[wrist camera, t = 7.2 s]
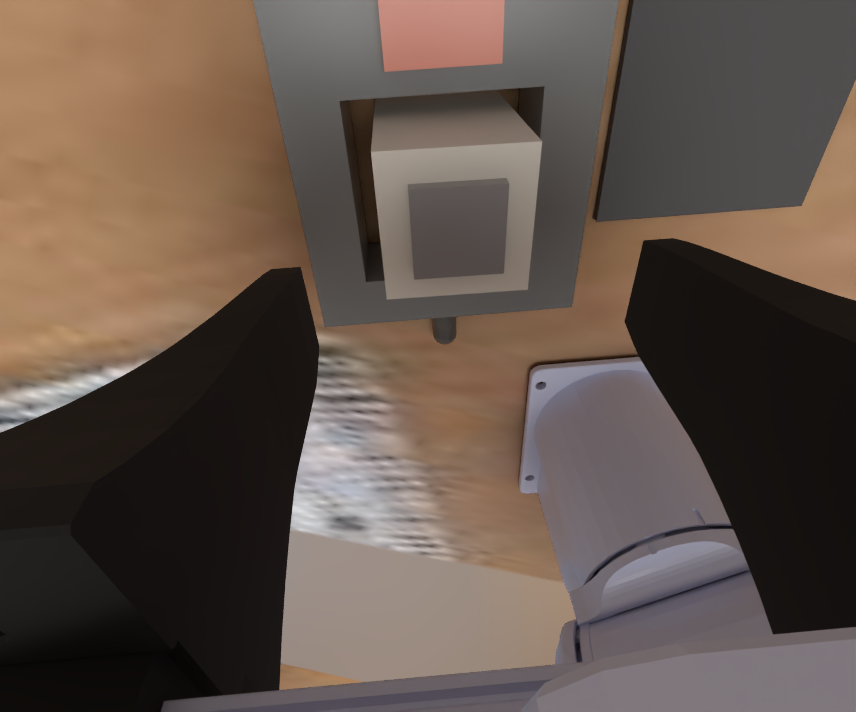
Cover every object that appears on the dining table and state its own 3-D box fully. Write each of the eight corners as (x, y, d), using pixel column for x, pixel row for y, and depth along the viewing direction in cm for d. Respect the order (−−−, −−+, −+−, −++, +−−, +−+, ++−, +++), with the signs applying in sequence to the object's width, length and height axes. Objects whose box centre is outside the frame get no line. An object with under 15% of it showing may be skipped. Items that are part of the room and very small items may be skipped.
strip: (543, 327, 22) (586, 424, 18) (343, 343, 22) (332, 445, 17) (648, -593, 9) (920, -1168, 5) (163, -572, 9) (-75, -1147, 4)
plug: (492, 208, 19) (530, 297, 14) (386, 215, 19) (386, 307, 14) (497, 90, 16) (546, 146, 11) (375, 97, 16) (370, 157, 11)
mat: (796, 203, 19) (801, 205, 19) (594, 218, 19) (596, 221, 19) (909, -65, 14) (917, -65, 14) (637, -47, 14) (641, -48, 14)
